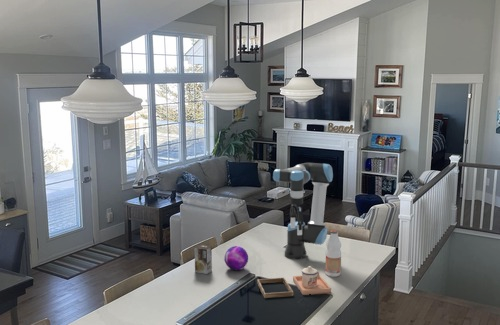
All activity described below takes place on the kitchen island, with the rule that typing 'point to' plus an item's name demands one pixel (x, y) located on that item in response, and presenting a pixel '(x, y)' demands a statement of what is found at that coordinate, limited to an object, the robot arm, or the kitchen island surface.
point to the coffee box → (203, 259)
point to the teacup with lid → (309, 277)
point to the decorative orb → (236, 258)
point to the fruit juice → (333, 255)
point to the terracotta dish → (319, 289)
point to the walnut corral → (277, 294)
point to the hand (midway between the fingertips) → (296, 231)
